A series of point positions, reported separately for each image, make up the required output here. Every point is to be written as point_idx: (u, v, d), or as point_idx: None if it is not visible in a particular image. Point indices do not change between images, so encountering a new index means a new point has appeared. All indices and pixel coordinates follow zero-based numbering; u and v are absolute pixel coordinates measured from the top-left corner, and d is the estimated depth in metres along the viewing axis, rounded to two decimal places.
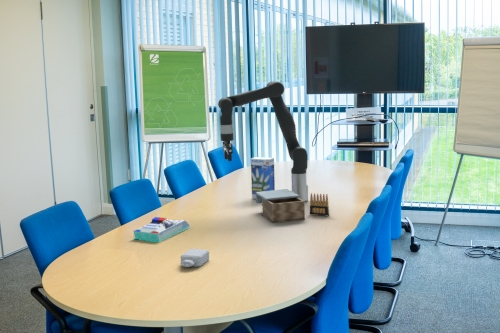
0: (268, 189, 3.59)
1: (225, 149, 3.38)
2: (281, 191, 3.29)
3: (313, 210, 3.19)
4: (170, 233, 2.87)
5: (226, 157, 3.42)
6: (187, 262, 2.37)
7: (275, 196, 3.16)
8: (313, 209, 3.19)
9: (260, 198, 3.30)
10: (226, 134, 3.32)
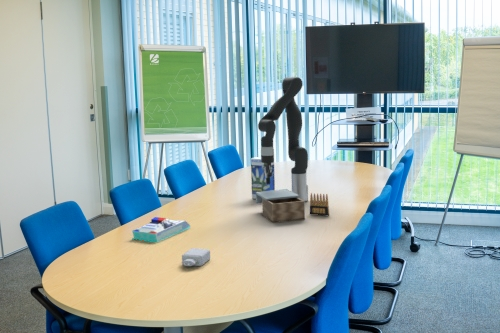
0: (268, 189, 3.59)
1: None
2: (281, 191, 3.29)
3: (313, 210, 3.19)
4: (169, 233, 2.86)
5: None
6: (188, 261, 2.37)
7: (275, 196, 3.16)
8: (313, 209, 3.19)
9: (260, 198, 3.30)
10: (267, 156, 3.31)
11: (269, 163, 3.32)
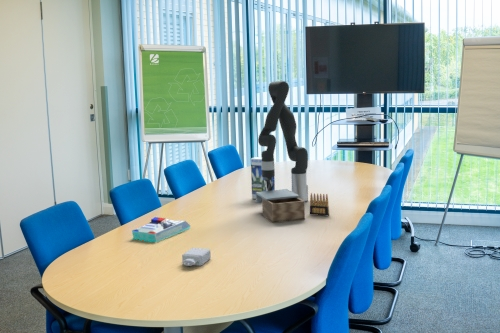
0: None
1: None
2: (281, 191, 3.29)
3: (313, 210, 3.19)
4: (168, 233, 2.86)
5: None
6: (189, 261, 2.38)
7: (275, 196, 3.16)
8: (313, 209, 3.19)
9: (260, 198, 3.30)
10: (268, 171, 3.32)
11: (270, 178, 3.32)
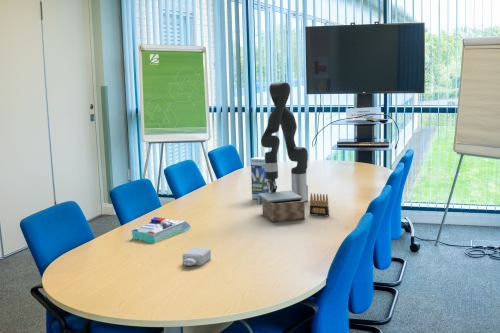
0: None
1: None
2: (284, 193, 3.24)
3: (313, 210, 3.19)
4: (168, 234, 2.86)
5: None
6: (189, 261, 2.38)
7: (278, 198, 3.11)
8: (313, 209, 3.19)
9: None
10: (271, 173, 3.26)
11: (273, 179, 3.27)
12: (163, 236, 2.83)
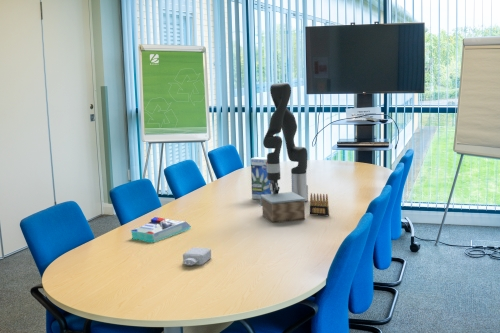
0: (268, 189, 3.59)
1: None
2: (286, 194, 3.20)
3: (313, 210, 3.19)
4: (167, 234, 2.86)
5: None
6: (189, 260, 2.39)
7: (280, 199, 3.07)
8: (313, 209, 3.19)
9: None
10: (273, 174, 3.22)
11: (275, 180, 3.23)
12: (162, 236, 2.83)
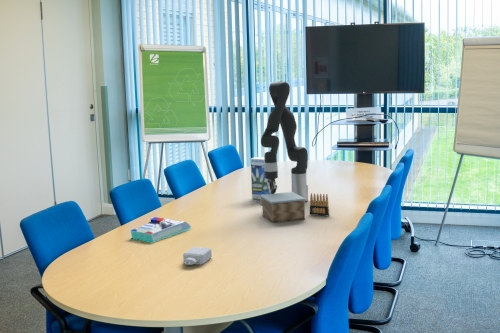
0: None
1: None
2: (286, 194, 3.20)
3: (313, 210, 3.19)
4: (167, 234, 2.85)
5: None
6: (190, 260, 2.39)
7: (280, 199, 3.07)
8: (313, 209, 3.19)
9: None
10: (271, 172, 3.28)
11: (273, 179, 3.28)
12: (162, 236, 2.83)
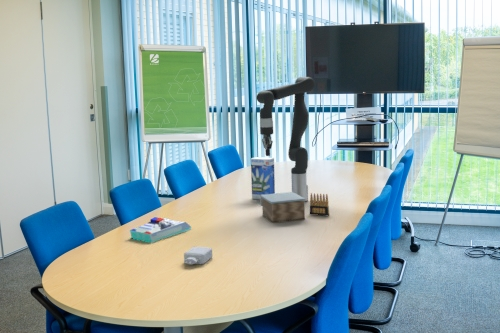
0: (268, 189, 3.59)
1: None
2: (286, 194, 3.20)
3: (313, 210, 3.19)
4: (166, 234, 2.85)
5: None
6: (190, 260, 2.40)
7: (280, 199, 3.07)
8: (313, 209, 3.19)
9: None
10: (266, 128, 3.29)
11: (268, 135, 3.30)
12: (160, 236, 2.82)
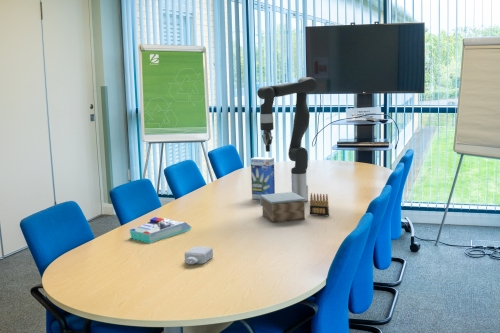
0: (268, 189, 3.59)
1: None
2: (286, 194, 3.20)
3: (313, 210, 3.19)
4: (165, 234, 2.85)
5: None
6: (191, 259, 2.40)
7: (280, 199, 3.07)
8: (313, 209, 3.19)
9: None
10: (267, 124, 3.30)
11: (269, 130, 3.31)
12: (160, 236, 2.82)
